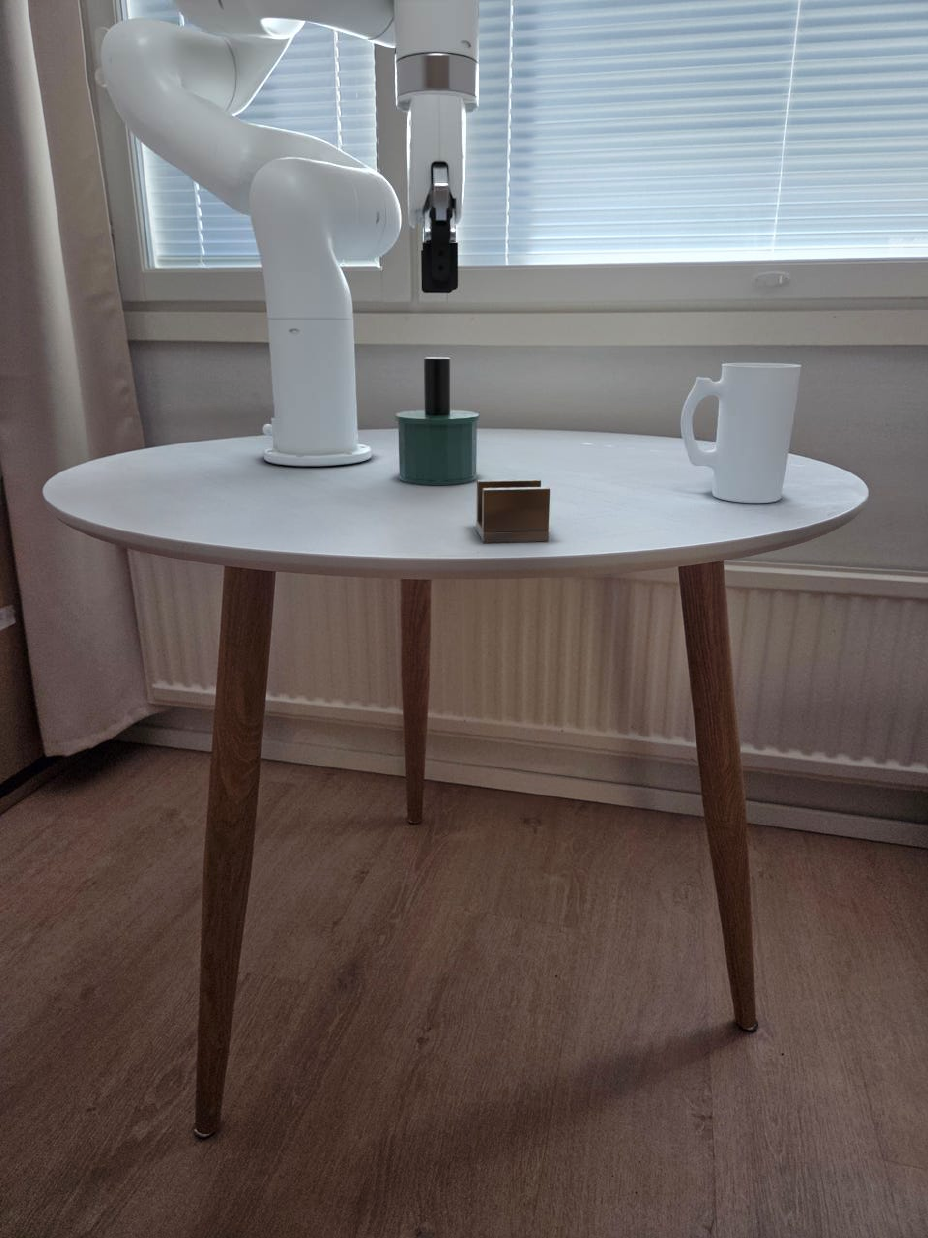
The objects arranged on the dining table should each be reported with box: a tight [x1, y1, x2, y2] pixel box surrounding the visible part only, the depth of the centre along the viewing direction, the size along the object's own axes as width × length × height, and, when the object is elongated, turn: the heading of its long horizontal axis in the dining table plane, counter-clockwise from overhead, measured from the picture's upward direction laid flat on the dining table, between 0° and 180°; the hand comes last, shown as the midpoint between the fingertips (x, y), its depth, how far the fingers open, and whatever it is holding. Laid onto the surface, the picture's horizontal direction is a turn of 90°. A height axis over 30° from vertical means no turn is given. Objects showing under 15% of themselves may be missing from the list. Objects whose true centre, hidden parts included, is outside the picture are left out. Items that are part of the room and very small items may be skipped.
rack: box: [475, 478, 551, 544], centre depth 65 cm, size 5×4×4 cm
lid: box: [395, 356, 480, 425], centre depth 86 cm, size 9×9×7 cm
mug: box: [680, 362, 802, 504], centre depth 78 cm, size 10×7×12 cm, turn 84°
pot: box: [397, 421, 478, 486], centre depth 88 cm, size 8×8×6 cm
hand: (438, 291), depth 82 cm, fingers open, 9 cm apart
